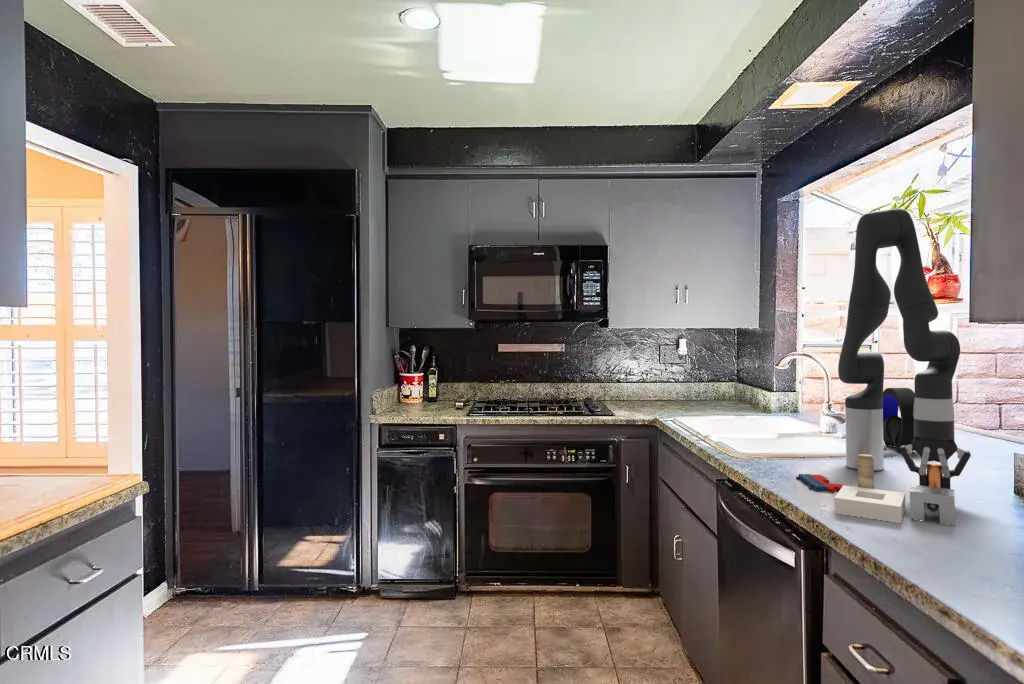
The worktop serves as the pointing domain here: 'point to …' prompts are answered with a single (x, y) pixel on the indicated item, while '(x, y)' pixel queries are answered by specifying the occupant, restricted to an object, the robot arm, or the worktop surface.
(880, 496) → the socket block
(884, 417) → the headphones
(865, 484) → the dowel
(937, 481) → the lock pin
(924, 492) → the pin mount
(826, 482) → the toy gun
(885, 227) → the robot arm
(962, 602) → the worktop surface
